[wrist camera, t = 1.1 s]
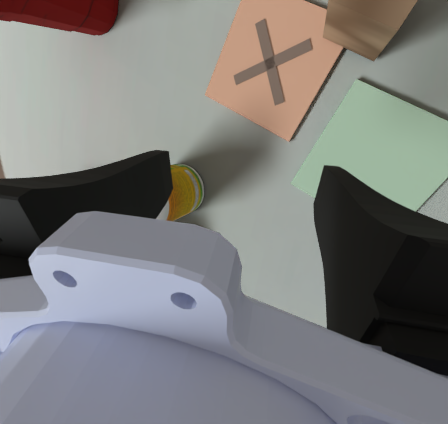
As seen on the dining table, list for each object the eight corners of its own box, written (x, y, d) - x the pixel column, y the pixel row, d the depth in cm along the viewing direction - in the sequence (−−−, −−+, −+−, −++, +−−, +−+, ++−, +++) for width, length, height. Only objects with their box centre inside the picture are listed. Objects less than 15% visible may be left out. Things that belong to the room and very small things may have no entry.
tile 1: (357, 24, 18) (357, 21, 17) (289, 141, 22) (288, 141, 21) (251, -19, 20) (249, -23, 19) (206, 95, 23) (204, 94, 23)
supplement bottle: (192, 154, 26) (119, 163, 17) (213, 202, 26) (153, 233, 18) (156, 175, 28) (78, 191, 20) (176, 218, 29) (108, 252, 20)
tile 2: (481, 138, 17) (484, 137, 16) (386, 239, 20) (387, 241, 20) (356, 80, 18) (356, 78, 18) (291, 182, 22) (290, 183, 22)
